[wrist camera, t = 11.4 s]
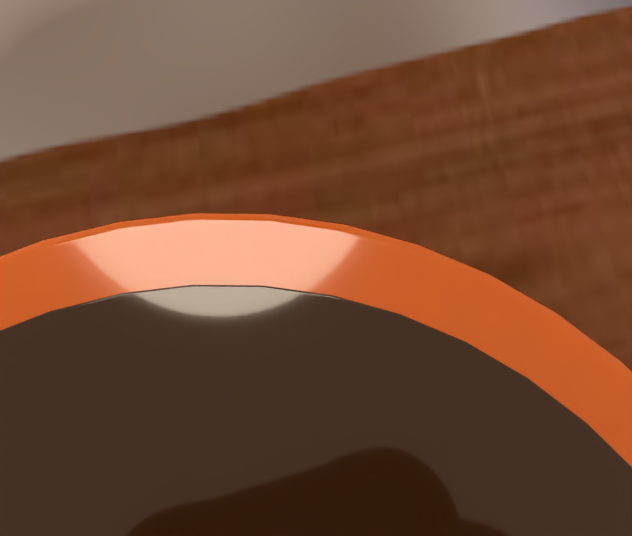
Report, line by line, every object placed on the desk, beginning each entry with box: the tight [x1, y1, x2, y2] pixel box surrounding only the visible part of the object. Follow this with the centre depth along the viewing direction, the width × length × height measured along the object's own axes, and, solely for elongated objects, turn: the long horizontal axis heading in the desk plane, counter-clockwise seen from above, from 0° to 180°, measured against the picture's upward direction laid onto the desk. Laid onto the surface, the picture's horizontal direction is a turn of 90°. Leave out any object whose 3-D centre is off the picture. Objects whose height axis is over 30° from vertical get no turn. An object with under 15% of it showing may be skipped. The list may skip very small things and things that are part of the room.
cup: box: [0, 213, 632, 536], centre depth 9 cm, size 7×7×13 cm
